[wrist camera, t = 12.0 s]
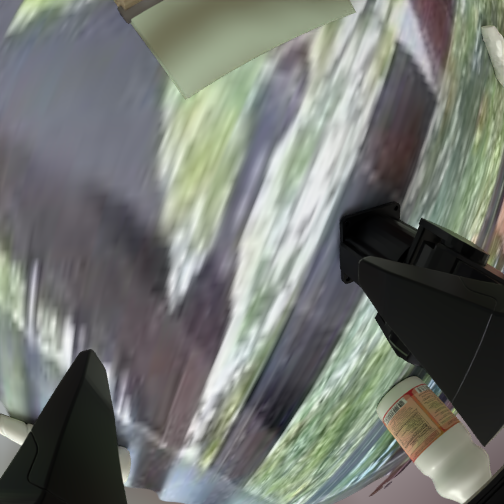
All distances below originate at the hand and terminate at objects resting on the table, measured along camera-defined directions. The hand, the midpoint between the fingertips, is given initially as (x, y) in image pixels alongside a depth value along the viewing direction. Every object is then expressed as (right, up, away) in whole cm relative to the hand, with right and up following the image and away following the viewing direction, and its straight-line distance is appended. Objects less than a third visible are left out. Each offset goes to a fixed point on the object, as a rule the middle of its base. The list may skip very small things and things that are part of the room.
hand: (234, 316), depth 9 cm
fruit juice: (+25, -22, +36) cm, 49 cm away
